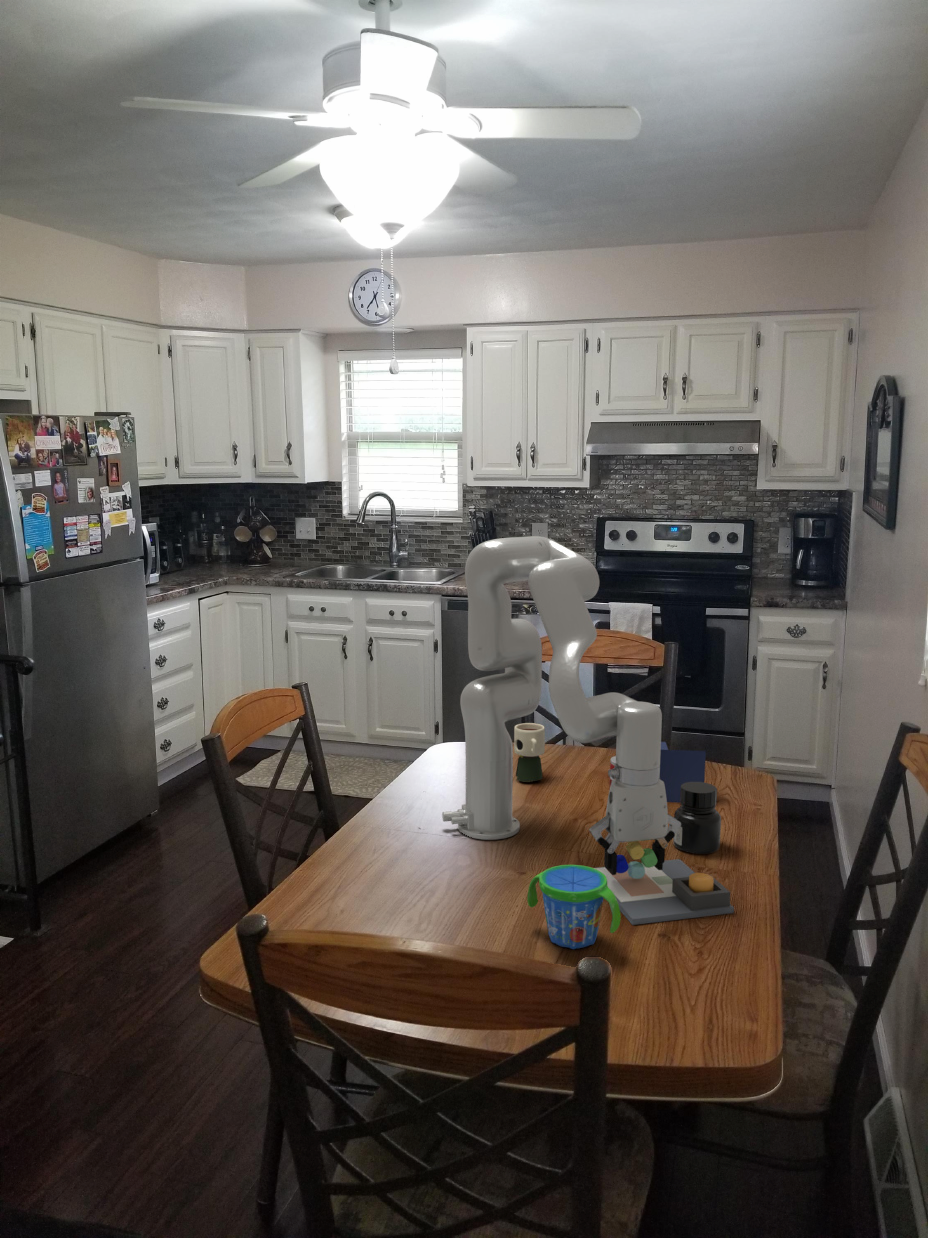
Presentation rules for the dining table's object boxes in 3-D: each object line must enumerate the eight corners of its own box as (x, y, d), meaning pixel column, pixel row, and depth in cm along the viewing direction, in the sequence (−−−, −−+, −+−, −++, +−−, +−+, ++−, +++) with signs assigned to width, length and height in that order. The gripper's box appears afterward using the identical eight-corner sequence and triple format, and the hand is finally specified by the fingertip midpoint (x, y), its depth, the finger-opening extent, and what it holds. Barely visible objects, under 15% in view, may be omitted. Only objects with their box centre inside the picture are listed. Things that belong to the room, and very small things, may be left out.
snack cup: (512, 934, 150) (512, 873, 149) (553, 912, 158) (554, 854, 156) (593, 970, 140) (594, 904, 138) (633, 943, 147) (635, 882, 146)
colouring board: (632, 925, 153) (633, 904, 153) (588, 873, 172) (588, 855, 172) (733, 913, 157) (734, 893, 157) (679, 864, 176) (680, 846, 176)
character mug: (509, 773, 228) (509, 721, 226) (538, 772, 229) (538, 720, 227) (519, 789, 218) (520, 734, 215) (549, 787, 219) (550, 732, 217)
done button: (695, 898, 157) (696, 884, 157) (684, 887, 161) (684, 874, 161) (717, 895, 158) (718, 881, 158) (705, 885, 162) (706, 872, 162)
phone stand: (696, 785, 220) (698, 735, 218) (703, 803, 208) (705, 751, 206) (643, 783, 221) (645, 734, 219) (648, 801, 210) (649, 749, 208)
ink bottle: (682, 833, 191) (684, 776, 189) (725, 842, 187) (728, 784, 185) (666, 850, 183) (668, 790, 181) (711, 860, 178) (714, 799, 177)
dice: (614, 880, 165) (615, 845, 164) (609, 873, 168) (611, 839, 167) (658, 878, 166) (659, 843, 165) (653, 871, 169) (655, 837, 168)
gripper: (598, 784, 158) (595, 883, 161) (693, 777, 162) (689, 873, 165) (582, 770, 165) (579, 865, 168) (674, 763, 169) (670, 856, 172)
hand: (634, 869), depth 167 cm, fingers closed on dice, 8 cm apart
